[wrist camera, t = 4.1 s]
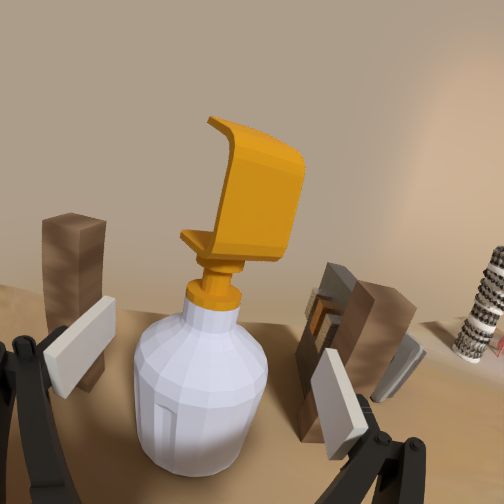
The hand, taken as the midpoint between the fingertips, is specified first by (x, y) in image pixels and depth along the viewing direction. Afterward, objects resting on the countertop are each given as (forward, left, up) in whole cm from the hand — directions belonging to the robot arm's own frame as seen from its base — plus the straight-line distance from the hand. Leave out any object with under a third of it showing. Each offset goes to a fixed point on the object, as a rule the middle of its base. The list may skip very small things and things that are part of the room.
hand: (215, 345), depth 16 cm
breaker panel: (+12, +13, -12) cm, 22 cm away
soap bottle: (-1, +1, -12) cm, 12 cm away
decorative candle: (+54, +24, -12) cm, 61 cm away
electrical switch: (+22, +14, -12) cm, 29 cm away
